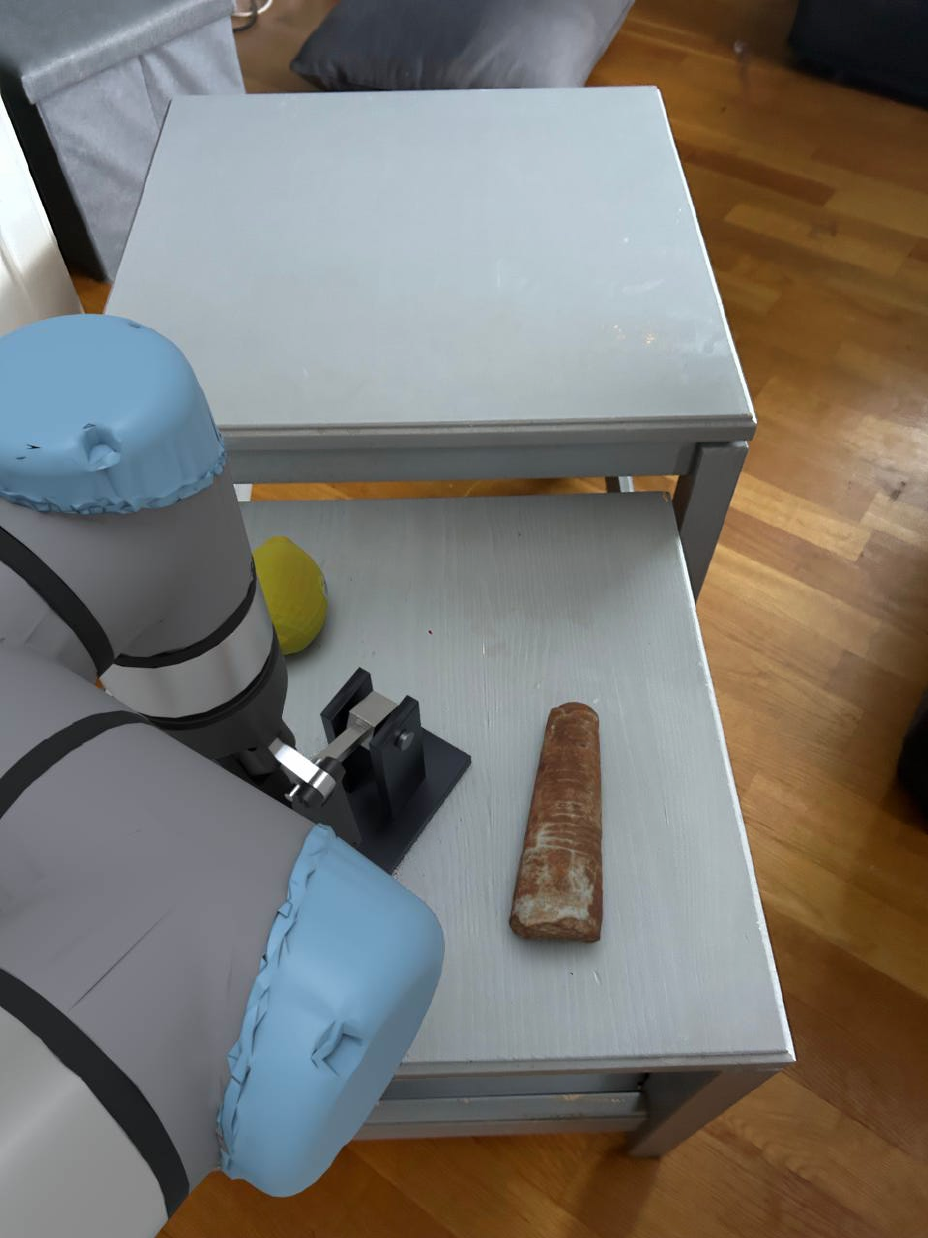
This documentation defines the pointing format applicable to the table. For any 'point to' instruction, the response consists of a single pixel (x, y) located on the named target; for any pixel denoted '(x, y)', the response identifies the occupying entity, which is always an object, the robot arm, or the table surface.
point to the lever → (360, 726)
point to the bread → (563, 835)
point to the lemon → (291, 592)
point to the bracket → (392, 774)
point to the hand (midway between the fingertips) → (277, 846)
